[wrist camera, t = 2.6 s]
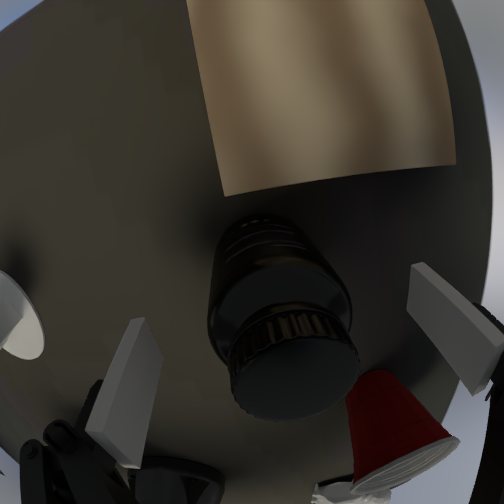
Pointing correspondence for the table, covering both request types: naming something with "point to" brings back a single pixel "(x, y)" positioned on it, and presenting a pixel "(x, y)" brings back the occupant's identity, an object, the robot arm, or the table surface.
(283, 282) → the supplement bottle
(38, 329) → the disc-based toy figure
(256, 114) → the oak block
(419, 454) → the plastic cup
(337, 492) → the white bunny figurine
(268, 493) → the table surface
